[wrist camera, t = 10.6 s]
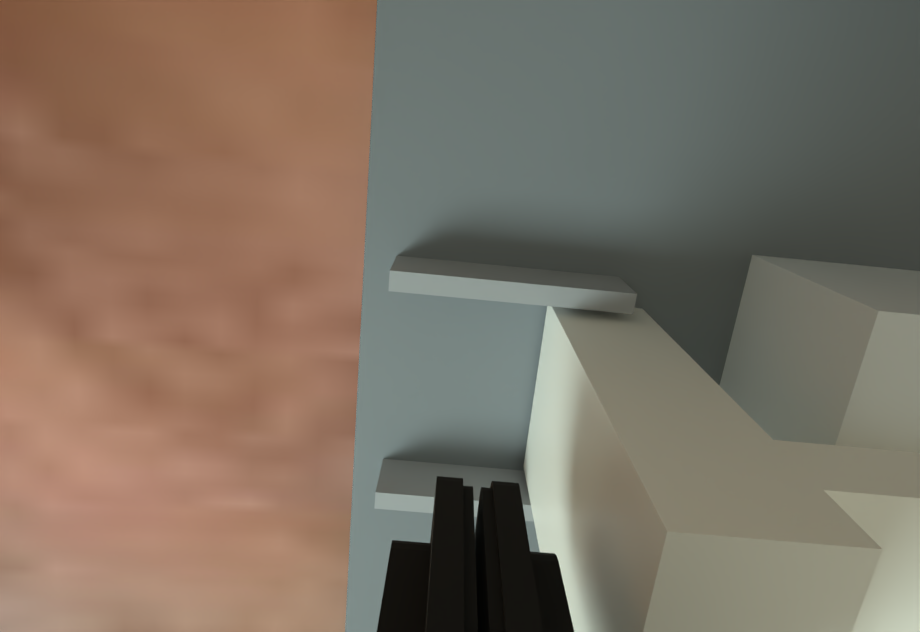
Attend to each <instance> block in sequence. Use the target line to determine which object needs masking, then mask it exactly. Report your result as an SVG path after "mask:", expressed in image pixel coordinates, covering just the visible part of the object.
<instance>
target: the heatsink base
mask: <svg viewBox="0 0 920 632" xmlns="http://www.w3.org/2000/svg"><path fill="white" fill-rule="evenodd" d="M547 306H552V307H563V308H574V309H584V310H595V311H606V312H616V313H627V314H633V313H634V308H642V309H643V310H644V311H645V312H646V313H647V314H648V315H649V316H650V317H651V318H652V319H653V320H654V321H655V322H656V323H657V324H658V325H659V326H660V327H661V328H662V329H663V330H664V331H665V332H666V333H667V334H668V335H669V336H670V337H671V338H672V339H673V340H674V341H675V342H676V343H677V344H678V345H679V346H680V347H681V348H682V349H683V350H684V351H685V352H686V353H687V354H688V355H689V356H690V357H691V358H692V359H693V360H694V361H695V362H696V363H697V364H698V365H699V366H700V367H701V368H702V369H703V370H704V371H705V372H706V373H707V374H708V375H709V376H710V377H711V378H712V379H713V380H714V381H715V382H716V383H717V384H718V385H719V386H720V387H721V388H722V389H723V390H724V391H725V392H726V393H727V394H728V395H729V396H730V397H731V398H732V399H733V400H734V401H735V402H736V403H737V404H738V405H739V406H740V407H741V408H742V409H743V410H744V411H745V412H746V413H747V414H748V415H749V416H750V417H751V418H752V419H753V420H754V421H755V422H756V423H757V424H758V425H759V426H760V427H761V428H762V429H763V430H764V431H765V432H766V433H767V434H768V435H769V436H770V437H771V438H772V439H773V440H781V441H792V442H804V443H815V444H827V445H838V446H849V447H861V448H872V449H884V450H895V451H906V452H918V453H920V0H377V18H376V37H375V57H374V77H373V96H372V116H371V135H370V155H369V175H368V194H367V214H366V234H365V253H364V273H363V293H362V312H361V332H360V351H359V371H358V391H357V410H356V430H355V450H354V469H353V489H352V509H351V528H350V548H349V568H348V587H347V607H346V626H345V632H377V627H378V621H379V615H380V609H381V603H382V597H383V591H384V585H385V579H386V573H387V567H388V561H389V555H390V549H391V543H392V540H398V541H410V542H422V543H430V538H431V528H432V518H433V508H434V498H435V488H436V478H437V476H443V477H455V478H463V486H473V496H474V526H475V528H476V520H477V512H478V504H479V496H480V489H481V487H486V488H490V486H491V482H492V481H501V482H513V483H519V486H520V492H521V498H522V504H523V510H524V516H525V523H526V529H527V535H528V541H529V547H530V551H531V552H540V550H539V545H538V540H537V535H536V529H535V524H534V519H533V514H532V508H531V503H530V498H529V493H528V487H527V482H526V477H525V472H524V459H525V452H526V445H527V439H528V432H529V425H530V419H531V412H532V405H533V398H534V392H535V385H536V378H537V372H538V365H539V358H540V351H541V345H542V338H543V331H544V325H545V318H546V311H547Z"/></svg>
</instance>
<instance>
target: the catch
mask: <svg viewBox="0 0 920 632" xmlns="http://www.w3.org/2000/svg"><path fill="white" fill-rule="evenodd" d="M524 472H525V477H526V482H527V487H528V493H529V498H530V503H531V508H532V514H533V519H534V524H535V529H536V535H537V540H538V545H539V550H540V552H543V553H555V554H556V556H557V558H558V561H559V566H560V570H561V575H562V579H563V584H564V588H565V593H566V597H567V602H568V606H569V611H570V615H571V619H572V624H573V628H574V632H920V453H918V452H906V451H895V450H884V449H872V448H861V447H849V446H838V445H827V444H815V443H804V442H792V441H781V440H773V439H772V438H771V437H770V436H769V435H768V434H767V433H766V432H765V431H764V430H763V429H762V428H761V427H760V426H759V425H758V424H757V423H756V422H755V421H754V420H753V419H752V418H751V417H750V416H749V415H748V414H747V413H746V412H745V411H744V410H743V409H742V408H741V407H740V406H739V405H738V404H737V403H736V402H735V401H734V400H733V399H732V398H731V397H730V396H729V395H728V394H727V393H726V392H725V391H724V390H723V389H722V388H721V387H720V386H719V385H718V384H717V383H716V382H715V381H714V380H713V379H712V378H711V377H710V376H709V375H708V374H707V373H706V372H705V371H704V370H703V369H702V368H701V367H700V366H699V365H698V364H697V363H696V362H695V361H694V360H693V359H692V358H691V357H690V356H689V355H688V354H687V353H686V352H685V351H684V350H683V349H682V348H681V347H680V346H679V345H678V344H677V343H676V342H675V341H674V340H673V339H672V338H671V337H670V336H669V335H668V334H667V333H666V332H665V331H664V330H663V329H662V328H661V327H660V326H659V325H658V324H657V323H656V322H655V321H654V320H653V319H652V318H651V317H650V316H649V315H648V314H647V313H646V312H645V311H644V310H643V309H642V308H634V313H633V314H627V313H616V312H606V311H595V310H584V309H574V308H563V307H552V306H547V311H546V318H545V325H544V331H543V338H542V345H541V351H540V358H539V365H538V372H537V378H536V385H535V392H534V398H533V405H532V412H531V419H530V425H529V432H528V439H527V445H526V452H525V459H524Z"/></svg>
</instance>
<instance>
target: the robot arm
mask: <svg viewBox="0 0 920 632" xmlns="http://www.w3.org/2000/svg"><path fill="white" fill-rule="evenodd" d="M377 632H574V628H573V624H572V619H571V615H570V611H569V606H568V602H567V597H566V593H565V588H564V584H563V579H562V575H561V570H560V566H559V561H558V558H557V556H556V554H555V553H543V552H531V551H530V547H529V541H528V535H527V529H526V523H525V516H524V510H523V504H522V498H521V492H520V486H519V483H513V482H501V481H492V482H491V486H490V488H486V487H481V489H480V496H479V504H478V512H477V520H476V528H475V526H474V496H473V486H463V478H455V477H443V476H437V478H436V488H435V498H434V508H433V518H432V528H431V538H430V543H422V542H410V541H398V540H392V543H391V549H390V555H389V561H388V567H387V573H386V579H385V585H384V591H383V597H382V603H381V609H380V615H379V621H378V627H377Z"/></svg>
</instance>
